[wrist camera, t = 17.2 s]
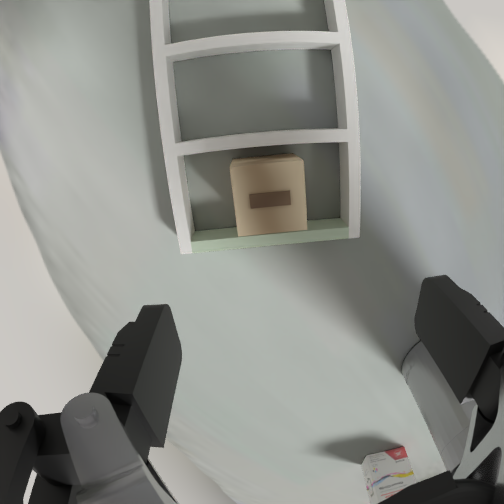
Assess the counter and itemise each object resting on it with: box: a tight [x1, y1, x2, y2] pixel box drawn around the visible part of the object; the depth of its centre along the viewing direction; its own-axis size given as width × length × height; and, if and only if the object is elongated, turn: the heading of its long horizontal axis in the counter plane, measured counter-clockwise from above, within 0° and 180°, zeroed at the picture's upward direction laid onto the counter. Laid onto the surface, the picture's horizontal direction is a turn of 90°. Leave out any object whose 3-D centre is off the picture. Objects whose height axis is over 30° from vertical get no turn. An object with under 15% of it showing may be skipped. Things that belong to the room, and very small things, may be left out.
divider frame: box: [149, 0, 361, 254], centre depth 21 cm, size 15×25×2 cm, turn 5°
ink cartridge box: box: [361, 447, 417, 504], centre depth 40 cm, size 9×5×15 cm, turn 92°
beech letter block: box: [230, 153, 307, 237], centre depth 23 cm, size 5×5×5 cm
